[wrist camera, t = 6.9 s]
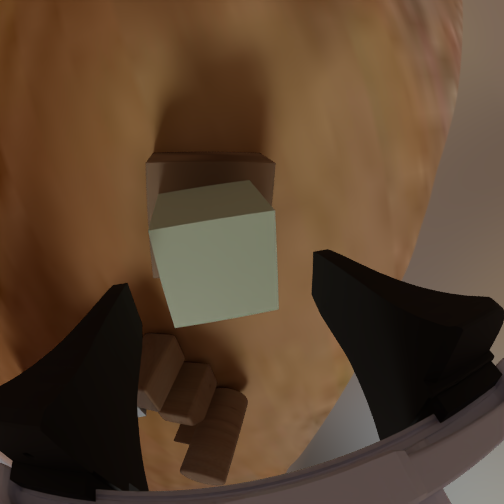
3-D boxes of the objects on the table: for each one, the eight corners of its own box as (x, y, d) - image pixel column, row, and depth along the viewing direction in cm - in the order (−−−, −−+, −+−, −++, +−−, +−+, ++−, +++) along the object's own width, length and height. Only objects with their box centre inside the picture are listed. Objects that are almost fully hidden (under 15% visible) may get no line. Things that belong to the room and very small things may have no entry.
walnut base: (157, 248, 21) (153, 278, 18) (153, 152, 18) (145, 162, 14) (251, 245, 22) (264, 273, 19) (258, 152, 19) (275, 163, 16)
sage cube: (175, 273, 18) (175, 327, 13) (158, 194, 15) (148, 230, 11) (255, 259, 18) (278, 309, 14) (249, 180, 16) (274, 210, 12)
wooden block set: (137, 318, 26) (80, 401, 17) (223, 322, 24) (178, 431, 15) (194, 419, 34) (168, 483, 25) (258, 427, 32) (240, 500, 23)
